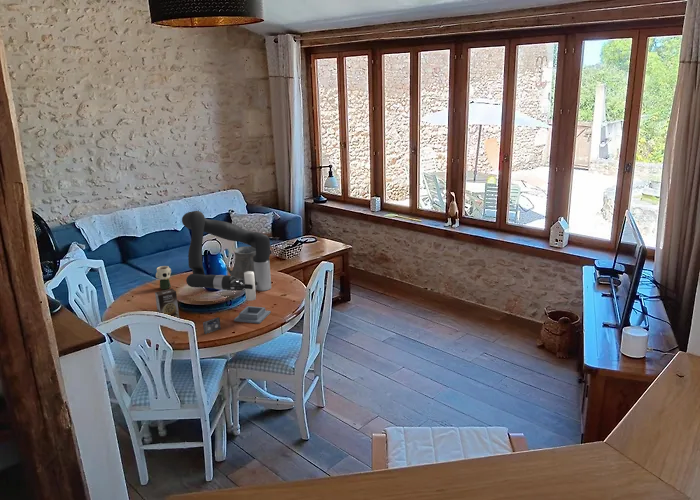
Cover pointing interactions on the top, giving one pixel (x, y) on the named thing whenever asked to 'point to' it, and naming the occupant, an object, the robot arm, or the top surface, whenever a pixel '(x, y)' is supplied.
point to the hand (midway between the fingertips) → (254, 284)
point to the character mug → (163, 276)
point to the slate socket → (252, 315)
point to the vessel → (243, 261)
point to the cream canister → (251, 280)
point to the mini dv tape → (211, 325)
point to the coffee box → (167, 302)
